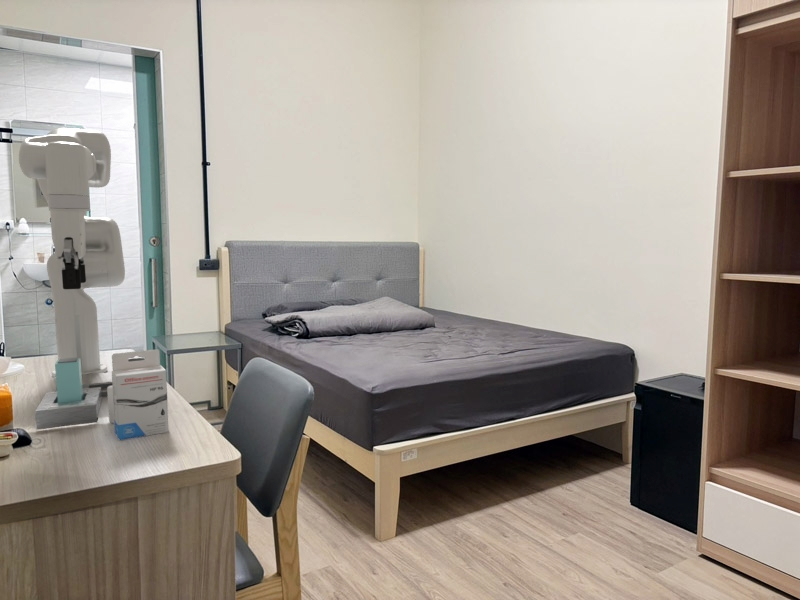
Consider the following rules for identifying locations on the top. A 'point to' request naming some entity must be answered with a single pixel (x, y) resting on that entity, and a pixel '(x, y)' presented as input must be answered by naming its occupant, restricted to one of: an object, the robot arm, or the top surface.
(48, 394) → the port
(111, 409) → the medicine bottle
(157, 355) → the ink box
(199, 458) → the top surface
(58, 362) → the plug
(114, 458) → the top surface
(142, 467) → the top surface
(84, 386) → the grey square socket
